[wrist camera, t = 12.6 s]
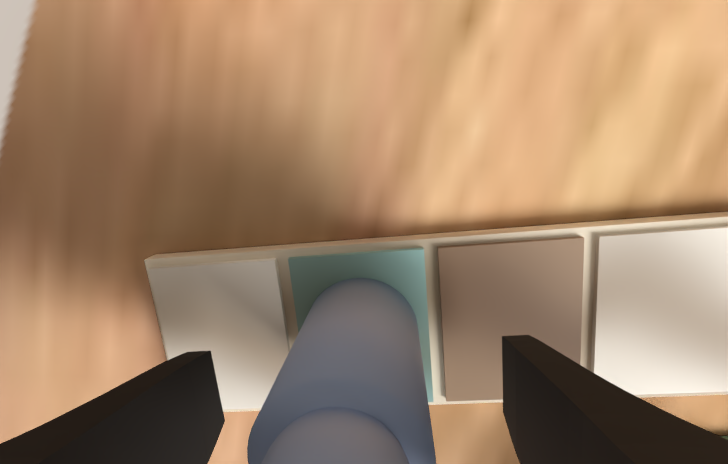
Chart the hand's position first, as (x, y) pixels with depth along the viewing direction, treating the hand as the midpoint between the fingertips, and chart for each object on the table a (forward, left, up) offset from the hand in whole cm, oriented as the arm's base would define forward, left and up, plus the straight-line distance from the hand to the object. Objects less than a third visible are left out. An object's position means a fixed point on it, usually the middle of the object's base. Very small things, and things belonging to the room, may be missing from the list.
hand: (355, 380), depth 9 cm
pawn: (0, 0, -2) cm, 2 cm away
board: (0, -4, -3) cm, 5 cm away
